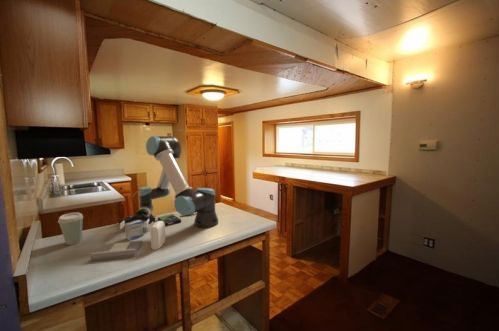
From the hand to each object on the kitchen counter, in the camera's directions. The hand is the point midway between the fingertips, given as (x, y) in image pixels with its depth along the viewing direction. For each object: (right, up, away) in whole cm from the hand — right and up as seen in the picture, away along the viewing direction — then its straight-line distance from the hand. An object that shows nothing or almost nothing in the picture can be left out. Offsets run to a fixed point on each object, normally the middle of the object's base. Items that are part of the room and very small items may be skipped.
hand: (133, 225), depth 128 cm
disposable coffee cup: (-28, -7, -7) cm, 30 cm away
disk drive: (+12, -4, +24) cm, 27 cm away
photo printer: (+19, -7, -11) cm, 23 cm away
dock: (+2, -8, -17) cm, 19 cm away
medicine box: (+1, -6, -1) cm, 6 cm away
